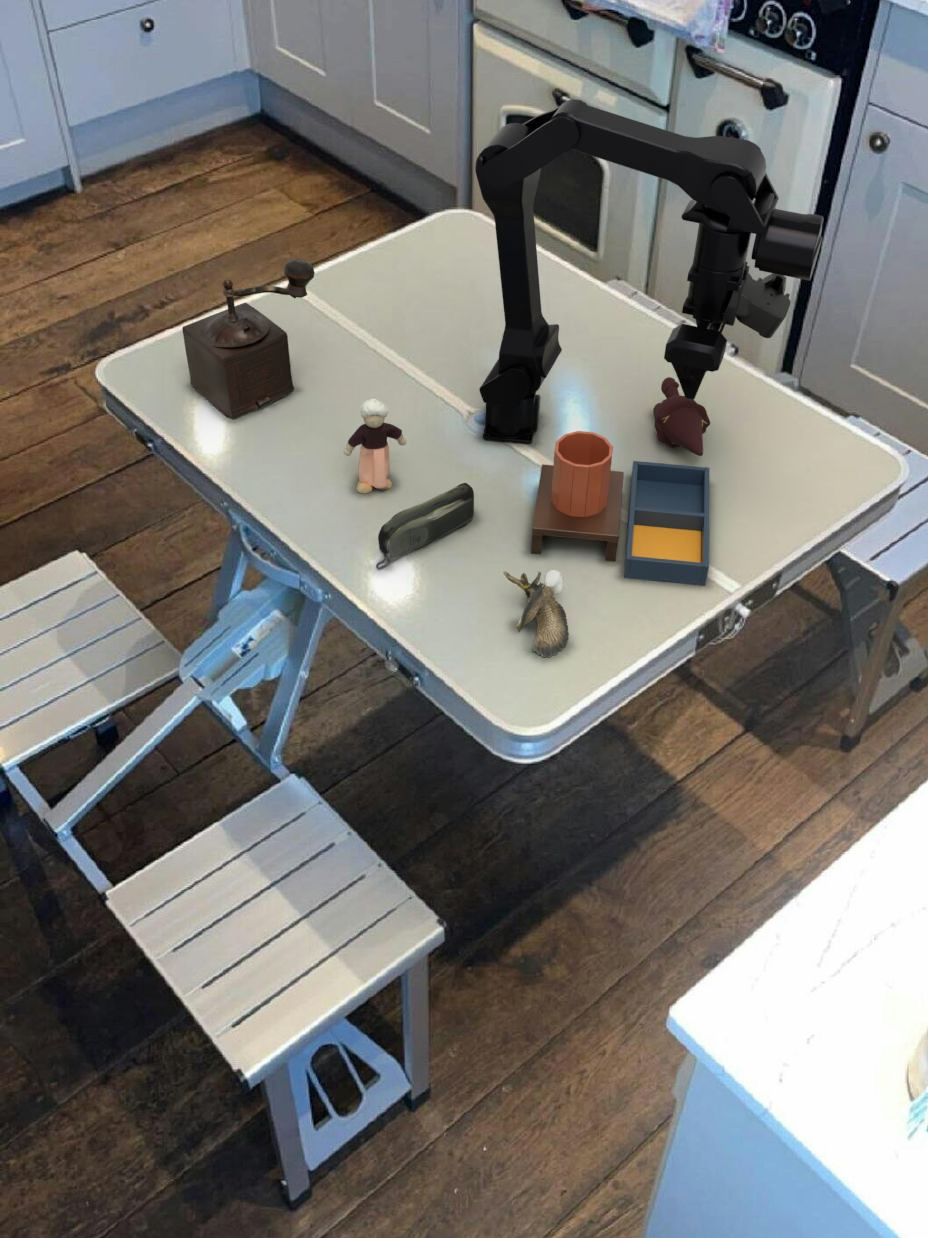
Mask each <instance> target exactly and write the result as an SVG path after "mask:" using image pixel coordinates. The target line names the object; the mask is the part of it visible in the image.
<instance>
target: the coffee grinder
mask: <svg viewBox="0 0 928 1238" xmlns="http://www.w3.org/2000/svg"><path fill="white" fill-rule="evenodd" d="M283 274H284V275H285V277H286V279H287V281H288V284H287V286H286V287H281V286H276V285H260V286H252V287H245V288H239V289H234V287H233V286H234V283H233V281H232V280H231V279H230V278H226V279H223V281H222V286H223V291H222V294H223V296H224V297H225V298H226V305H227V309H224V310H222V311H219V312H217V313H214V314H212V315H208V316H207V317H204V318H201V319H199V320H196V321H193V322H192V323H189V324H186V325H184V326H182V328H181V329H182V331H181V332H182V336H183V342H184V349H185V355H186V361H187V368H188V372H189V378H190V385H191V386H192V388H193V389H194V390H195V391H196V392H197V393H198V394H199V395H200V396H201V397H202V398H204V399H205V401H206V400H207V402H208V403H210V404H211V405H212V406H213V407H214V408H215V409H217V410H218V411H219V412H220V413H221V414H222V415H223V416H225V417H226V418H229V419H231V420H234V419H236V418H239V417H242V416H245V415H248V414H249V413H252V412H254V411H256V410H257V411H258V410H259V409H262V408H265V407H266V406H268V405H271V404H272V403H274V402H276V401H278V400H279V399H282V398H284V397H285V396H287V395H289V394H291V392H293V391H295V387H294V384H293V376H292V368H291V357H290V349H289V338H288V333H287V331H285V330H284V329H283V328H281V327H280V326H279V325H278V324H276V323H275V321H272V319H270V318H269V317H267V316H266V315H264V313H262V312H261V311H260V310H258V309H257V308H254V307H253V306H252V305H250V304H248V303H247V302H246V301H245V302H243V303H239V304H237V305H235V299H234V297H247V296H251V295H258V294H267V293H268V294H270V293H272V294H278V295H284V296H290V297H291V298H293V299H296V298H301V299H302V298H304V297H307V296H308V292H307V286H308V284H309V283H310V282H311V281H312V280H313V279H314V278H315V274H316V272H315V270H314V267H313V265H312V264H311V263H310V262H308V261H307V260H305V259H302V258H293V259H289V260H288V261H286V263H285V264H284V266H283Z"/></svg>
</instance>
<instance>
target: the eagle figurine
mask: <svg viewBox="0 0 928 1238" xmlns="http://www.w3.org/2000/svg"><path fill="white" fill-rule="evenodd" d="M503 575H504V576H505V578H506V579H507V580H508V581H509V582H511V583H512V584H514V585H517V587H519V588H520V590H523V592H524V593H525V596H526V598H527V599H528V600H527V602H526V604H525V606H524V608H523V611H522V613H521V615H520V617H519V619H518V622H517V624H515V627H516V628H517V632H518V633H520V632H521V630H522V629H524V627H525V626H526V625H527V624H529V623H530V622H531V621H532V620H533V619H534V618H535V619H536V622H537V629H536V630H537V631H536V636H535V639H534V641H533V645H532V651H533V652H536V655H538V656H541V657H542V658H551V657H552V656H553V655H554V656H555V655H556V656H557V654H558V653H559V652H560V651H563V648H565V647H566V646H567V643H568V640H569V636H570V632H569V625H568V618H567V613H566V611H565V610H564V607H563V606H562V604H561V603H559V601H557V600H556V598H555V597H553V596H556V595H559V594H561V593H562V592H563V589H564V585H563V584H564V583H563V581H564V580H563V576H562V573H561V572H560V571H559V570H558V569H557V570H556V569H549V570H548V571H546V572H545V577H544V583H542V581H541V576H542V572H541V571H538V572H537V575H536V577H535V578H534V579H533V580H532V581H531V583H530V582H529V579H528V577H527V574H526V573H525V572H522V573H521V575H520V579H518V578H516V577H514V576H513V575H511V574H510V573H509V572H507V571H503Z"/></svg>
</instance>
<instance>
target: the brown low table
mask: <svg viewBox="0 0 928 1238" xmlns="http://www.w3.org/2000/svg"><path fill="white" fill-rule="evenodd" d="M553 465H554V464H541V469H540V476H539V482H538V489H537V495H536V501H535V509H534V514H533V521H532V529H531V541H530V543H531V544H530V554H534V555H535V554H536V555H542V549H543V543H544V536H546V537H547V536H548V537H559V538H569V539H577V540H578V539H579V540H590V541H600V542H606V546H605V547H606V549H605V557H604V558H605V559H604V560H605V561H606V562H616V561H617V552H618V544H619V538H620V537H619V535H620V525H621V524H620V522H621V510H622V501H623V499H622V498H623V488H624V487H623V485H624V475H625V474H624V473H625V472H624V471H620V470H611V471H610V480H609V489H608V497H607V506H606V507H605V508H604V509H603V510H602V511H601V512H600V513H599V514H596V515H592V516H588V517H574V516H568V515H566V514H564V513H562V512H560V511H558V510H557V509H556V507H555V506H554V505H553V503H552V502H551V493H552V479H553Z"/></svg>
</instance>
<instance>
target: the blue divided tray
mask: <svg viewBox="0 0 928 1238" xmlns="http://www.w3.org/2000/svg"><path fill="white" fill-rule="evenodd" d="M710 469H711V468H710V467H707V466H697V465H696V466H695V465H685V464H673V463H662V462H651V461H642V460H641V461H640V460H633V461H632V468H631V476H630V485H629V486H630V488H629V500H628V503H629V504H628V515H627V527H626V541H625V542H626V543H625V553H624V554H625V555H624V567H623V569H624V570H623V578H625V579H636V580H644V581H645V580H646V581H656V582H665V583H666V582H667V583H674V584H684V585H685V584H686V585H695V586H706V585H707V579H708V574H709V569H710V472H711V471H710Z"/></svg>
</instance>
